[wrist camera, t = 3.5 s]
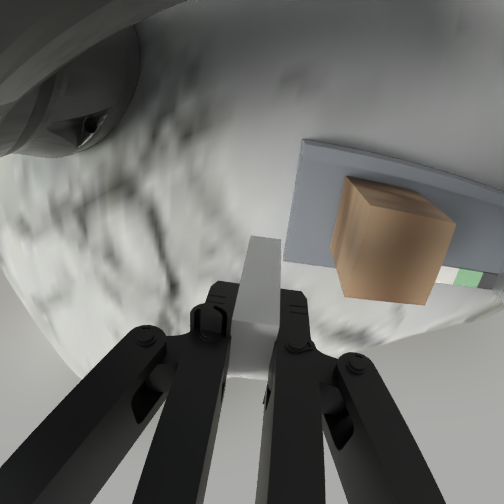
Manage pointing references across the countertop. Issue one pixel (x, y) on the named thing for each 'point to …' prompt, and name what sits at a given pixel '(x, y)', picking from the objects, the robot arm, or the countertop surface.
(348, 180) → the block
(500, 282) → the grey metal block
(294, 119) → the countertop surface
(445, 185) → the gauge track
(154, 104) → the countertop surface
